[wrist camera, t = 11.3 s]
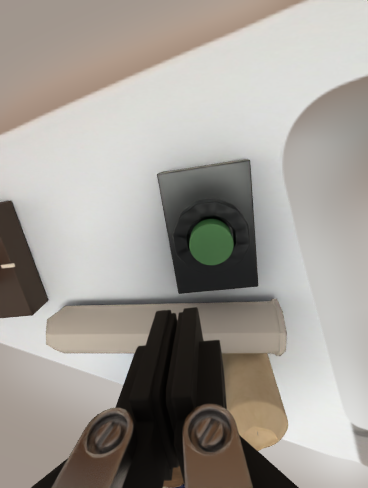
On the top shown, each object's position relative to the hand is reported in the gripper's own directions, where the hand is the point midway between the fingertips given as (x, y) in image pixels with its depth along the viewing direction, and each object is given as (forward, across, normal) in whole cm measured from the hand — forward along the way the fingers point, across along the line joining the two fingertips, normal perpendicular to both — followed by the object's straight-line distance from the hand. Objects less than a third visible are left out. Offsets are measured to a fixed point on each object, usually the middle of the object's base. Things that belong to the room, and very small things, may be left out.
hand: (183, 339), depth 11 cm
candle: (+17, -3, +17) cm, 24 cm away
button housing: (+17, -1, 0) cm, 17 cm away
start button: (+13, -1, 0) cm, 13 cm away
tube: (+17, +6, +10) cm, 20 cm away
